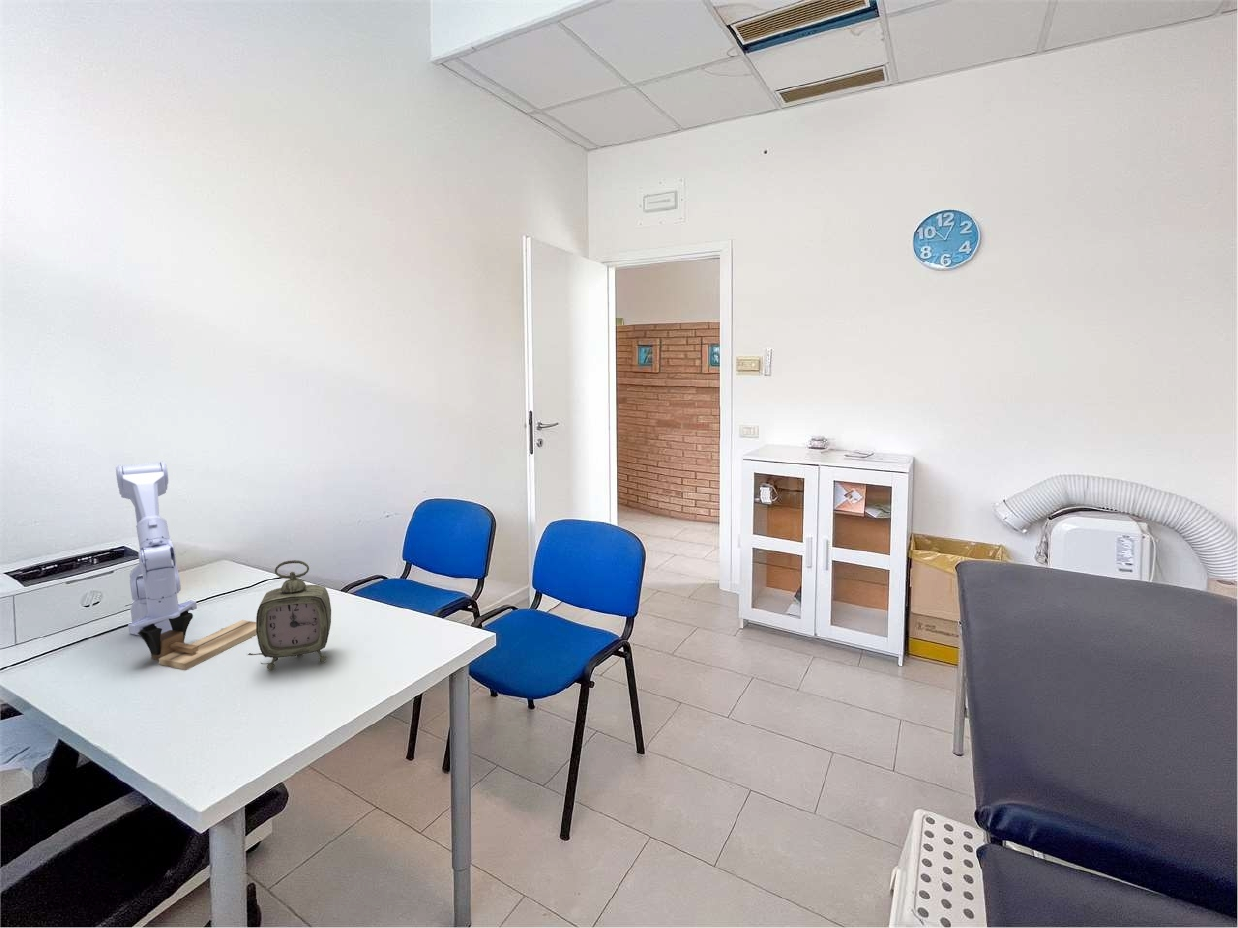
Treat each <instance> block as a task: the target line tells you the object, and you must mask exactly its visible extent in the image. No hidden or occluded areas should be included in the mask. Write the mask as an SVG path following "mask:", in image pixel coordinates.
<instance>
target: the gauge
mask: <svg viewBox="0 0 1238 928" xmlns="http://www.w3.org/2000/svg"><path fill="white" fill-rule="evenodd" d="M160 646H161V653H160V654H159V655H153V654H151V653H150V657H151V658H150V659H152V660H158V661H159V658H161V657H163V656H165V655H168V654H170V653H172V652H174V651H181V652H186V653H191V654H192V653H194V652H196V651H198V646H197V645H191V643H185V639H184V636H183V632H180V631H174V630H169V631H166V632H164V633H162V634H161V636H160Z"/></svg>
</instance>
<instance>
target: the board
mask: <svg viewBox="0 0 1238 928" xmlns="http://www.w3.org/2000/svg"><path fill="white" fill-rule="evenodd" d="M255 636H257V633H256V621H252V620H245V619H242V620H239V621H237V622H234V623H232V624H230V625H228V626H226V627H224V628H222V629H220V630H218V631H215V632H213V633H212V634H209V635H207V636H205V637H202V638H200V639H198V640H196V641H194V642H191V643H190V644H191V645H197V646H198V651H196V652H194V653H192V654H191V653H186V652H181V651H174V652H172V653H170V654H168V655H165V656H163V657H161V658H159V660H158V665H160V666H165V667H170V668H174V669H179V670H185V671H187V670H188V669H191V668H193V667H195V666H197V665H198V664H200V663H203V662H205V661H207V660H208V659H210V658H211V659H212V657H215V656H216V655H219V654H221V653H222V652H224V651H227V650H228V649H230V648H232V647H234V646H237V645H239V644H240V643H243V642H244V641H247V640H249V639H250V638H252V637H255Z"/></svg>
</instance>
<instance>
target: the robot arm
mask: <svg viewBox="0 0 1238 928" xmlns="http://www.w3.org/2000/svg"><path fill="white" fill-rule="evenodd" d="M115 474H116V483H117V488H118V491H119V492H118V493H119V495H120V497H121V498H122V499H126V500H130V502H131V503H132V505H133V507H134V513H135V519H136V526H135V527H136V534H137V540H138V544H139V550H138V562H139V564H138V565H136V566H135V567H134V568H132V569H131V571H130V573H129V585H130V594H131V599H132V601H133V602H132V604H131V607H130V615H131V623H128V624H127V627H128V629H127V630H128V633H129V635H136V636H140V637H141V639H142V640H143V641H144V642H145V644H146V646H147V648H148V649H149V651H150V652H149V653H150V655H151V654H153V655H159V654H160V653H161V646H160V636H161V634H162V633H164V632H166V631H169V630H174V631H180V632H183V636H184V640H185V638H186V633H187V630H188V627H189V625H190V623H191V621H192V619H193V617H194V615H193V613H191V612H189V611H194V610H197V601H196V600H188V601H184V602H180V603H179V600H178V594H180V591H181V589H182V588H181V580H180V574H179V570H178V566H177V556H176V554H177V553H176V550H175V546H174V544H173V541H172V539H170V537H171V536H170V533H169V527H168V523H167V520H166V519H165V518H162V517H161V516H160V508H159V507H160V505H159V497H160V496H163V495H165V494H167V490H168V487H169V486H168V484H169V472H168V468H167V464H166V463H165V462H164V461H160V462H150V463H149V462H148V463H138V464H137V463H136V464H124V465H123V464H122V465H121V464H118V465H117V466H116V467H115Z"/></svg>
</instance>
